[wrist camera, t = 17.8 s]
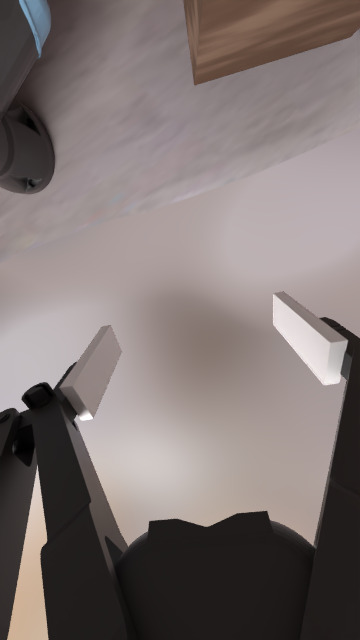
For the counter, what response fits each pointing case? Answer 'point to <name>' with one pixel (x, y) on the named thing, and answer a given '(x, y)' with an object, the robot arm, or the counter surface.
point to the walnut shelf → (261, 31)
